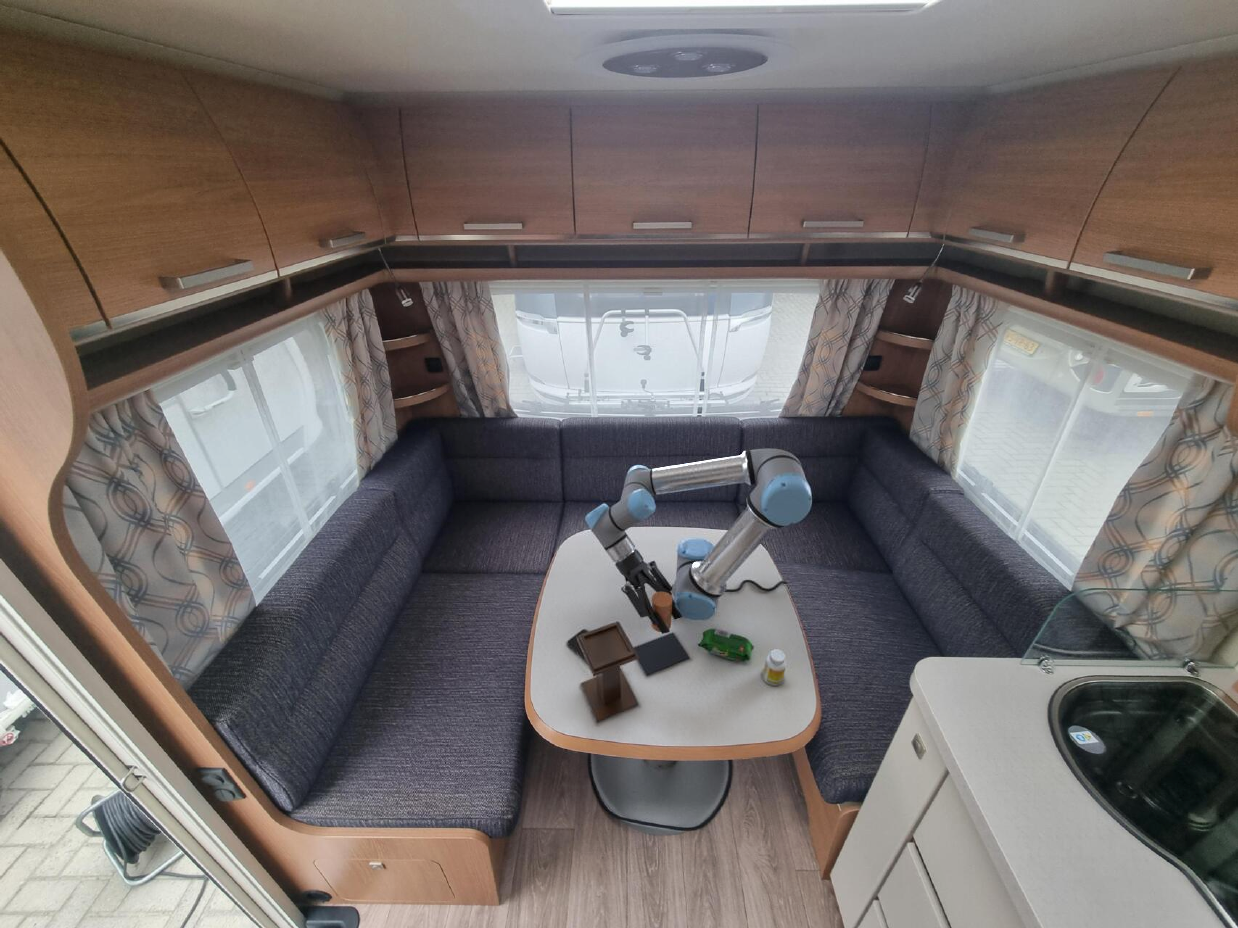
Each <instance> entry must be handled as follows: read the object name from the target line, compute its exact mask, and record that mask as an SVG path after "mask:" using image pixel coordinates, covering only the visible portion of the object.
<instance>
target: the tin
mask: <svg viewBox="0 0 1238 928" xmlns="http://www.w3.org/2000/svg"><path fill="white" fill-rule="evenodd" d="M651 606H652V609H653V611H657V613H658V614H659V616H660V617H661V618H662V620H663V621H664V623H665V624H666V626H667V627H668V629H669V630H670V629H671V627H672V597H671V595H670V594H668V593H666V592H655V593H653V594H652V597H651ZM650 626H651V628H652V629H653V630H654V631H655V632H658V633H661V631H660V630H659V628H658V627H657V625H653V623H652V622H651V621H650Z"/></svg>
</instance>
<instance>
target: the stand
mask: <svg viewBox="0 0 1238 928" xmlns="http://www.w3.org/2000/svg"><path fill="white" fill-rule="evenodd" d="M588 631H589V632H586V633H583V634H580V635H579V636H578V637H577V641H578V643H579V645H580V648H581V650H582V652H583V654H584V657H585V659H586V661H587V662H586V661H585V662H586V664H587V666H588V667H589V670H590V672H591V674H592V677H593V678H590V679H588V680H585V681H583V682H580V686H581V688H582V691H583V693H584V697H585V698H586V701H587V704H588V706H589V708H590V710H591V713H592V715H593V718H594V720H595V723H597V724H598V723H600V722H602V721H606V720H607V719H610V718H612V717H614V716H617V715H619V714H622V713H624V712H627V711H628V710H631V709H633V708H635V707H638V706H639V702H638V699H637V698H636V696H635V693H634V692H633V690H632V688H631V686H630V683H629V681H628V680H627V678H626V676H625V674H624V672H623V670H622V668H621V667H623V666H625V665H627V664H629V663H632V662H634V661H638V655H637V653H636V651H635V649H634V646H633V644H632V642H631V641H630V639H629V637H628V635H627V633H626V631H625V630H624V628H623V626H622V624H621V622H620V621H618V620H617V621H614V622H611V623H609V624H605V625H603V626H601V627H597V628H595V629H591V630H588Z"/></svg>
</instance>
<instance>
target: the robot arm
mask: <svg viewBox="0 0 1238 928" xmlns="http://www.w3.org/2000/svg"><path fill="white" fill-rule="evenodd" d="M743 483H745V484H747V485H748V486H755V485H756V486H755V488H754V489H753V490H752V491H751V492H750V494H749V495H748V496H747V497H746V500H745V501H746V506H747V507H746V508H745V509H744V510H743V511H742V513H741V514H740V515H739V516H738V517H737V519H736V520H735V521H734V522H733V524H732V525H731V526H730V527H729V528H728V530H727V531H726V532H725V533H724V535H722V537H721V538H720V539H719V540H718V542H717V543H716V544H715V545H713V543H711V542H710V541H708V540H707V539H704V538H700V537H689V538H686V539H683V540H682V541H680V542H679V543H678V546H677V549H676V553H677V555H676V572H675V573H676V575H675V580H674V582H673V584H672V585H671V584H670V583H669V581H668V580H667V579H666V577H665V576H664V574H663V573H662V572H661V570H660V569H659V568H658V565H657V563H656V561H655V560H652V561H649V562H645V560H644V557H643V555H642V554H641V553H640V552H639V550H638V549H637V548H636V545H635V544H634V542H633V541H632V540H631V538H630V537H629V535H628V533H627V532H626V531H627V530H629V529H630V528H632V527H633V526H635V525H637V524H638V523H640V522H642V521H644V520H646V519H647V518H649V516H651V515H652V514H654V513H655V512H656V509H657V505H656V503H655V499H654V496H655V495H664V494H671V493H676V492H677V493H679V492H684V491H685V492H686V491H693V490H700V489H707V488H714V487H721V486H728V485H735V484H743ZM812 504H813V497H812V489H811V486H810V485H809V482H808V481H807V478H806V476H805V472H804V468H803V466H802V463H801V462H800V460H799V459H798V457H797V456H795V455H794V454H793V453H791V452H789V451H787V450H784V449H779V448H755V449H749V450H743V452H742V454H740V455H735V456H728V457H722V458H715V459H708V460H703V461H696V462H689V463H684V464H677V465H670V466H664V467H657V468H650V469H649V468H648V467H647V466H645V465H641V464H636V465H633V466H631V467H630V468H629V469H628V471H627V473H626V476H625V478H624V485H623V489H622V493H621V497H620V500H619V501H618V502H617V503H615V504H613V505H612V506H608V504H607V503H602V504H600V505H599V506H597V507H595V508H594V509H592V510H591V511H590V512H588V513H587V514H586V516H585V517H584V519H585V522H586V523H587V525H588V527H589V529H590V532H592V533H593V535H594V536H595V538H596V539H597V541H598V542H599V544H601V546H602V547H603V549H604V550H605V551H604V552H605V553H606V554H607V556H608V557H609V558H610V560H611V562H613V563H614V564H615V565H614V566H615V567H616V568H617V570H618V571H619V573H620V574H621V575H622V576H623V577H624V581H625V584H624V586H622V587H621V588H620V591H621V592H623V594H625V595H626V596H627V598H628V600H629V602H630V603H631V605H632V606H633V608H634V610H635V611H636V613H637V615H638V616H639V618H641V619H642V618H645V617H647V618H648V619H649V621H650V623H651V622H652V623H653V625H657V627H658V628H659V630H660V631H661V632H660V633H661V635H664V634H669V633H670V631H671V630H670V629H668V627H667V626H666V624H665V623H664V621H663V620H662V618H661V617H660V616H659V614H658V613H657V611H653V609H652V603H651V601H650V598H649V596H648V594H647V591H646V584H647V585H648V586H649V587H650V588H651V589H653V591H654V592H655V593H657V592H666V593H668V594H670V595H671V597H672V615H671V617H672V618H673V619H674V620H679V619H682V618H683V617H684V618H686V619H688V620H691V621H706V620H709V619H711V618H712V617H713V616H714V615H715V614H716V611H717V608H718V607H717V601H718V600H719V599H720V598H721V596H723V594H725V593H737V592H740V591H742V589H743V587H744V586H745V584H746V583H747V584H748V583H750V584H753V585H754V586H755V587H757V588H758V589H760V590H761V591H764V592H773V591H775V590H777V588H779V587H780V586H781V585H782V584H784V585H788V582H787V581H786V580H780V581H779V582H777V583H776V584H775V585H773V586H772V587H769V588H767V587H764V586H761V584H759V583H757V582H756V581H754V580H752V579H743V580H742V582H741V583H740V585H739V586H738V587H737V588H733V589H732V588H727V586H728V585H727V582H728V581H729V580H730V579H731V577H732V576H733V575H734V574H735V573H736V571H737V570H739V568H740V567H741V566H742V565H743V564H744V563H745V561H747V559H749V557H750V556H752V553H753V552H754V551H755V550H757V548H758V547H759V546H760V545H761V544H762V542H763V541H765V539H766V538H767V537H768V536H769V535H770V534H771V533H772V532H773V531H774V529H775V530H778V529H783V528H785V527H787V526H791V524H793V525H795V524H797V523H800V522H801V521H803V519H805V518H806V516H807V515H808V514H809V512H810V511H811V508H812Z"/></svg>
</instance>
